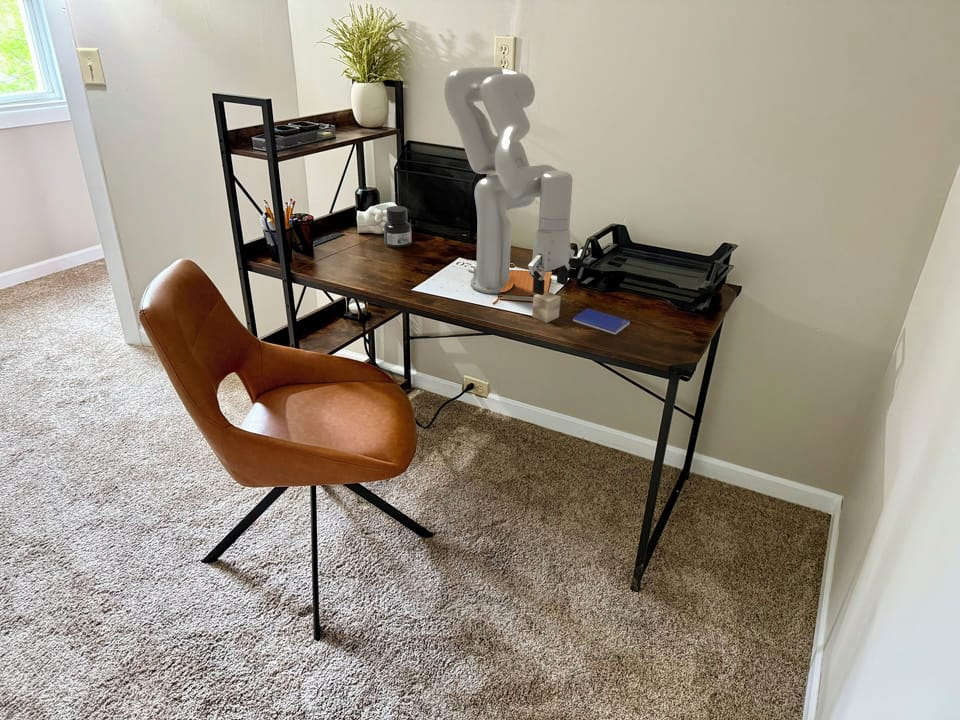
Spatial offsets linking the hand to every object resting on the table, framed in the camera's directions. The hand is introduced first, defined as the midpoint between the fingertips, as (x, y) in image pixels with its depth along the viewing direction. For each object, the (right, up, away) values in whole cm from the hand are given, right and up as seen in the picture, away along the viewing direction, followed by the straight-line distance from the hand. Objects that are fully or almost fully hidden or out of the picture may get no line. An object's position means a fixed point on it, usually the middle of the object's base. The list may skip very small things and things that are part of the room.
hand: (550, 288), depth 172 cm
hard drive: (+14, -9, +3) cm, 17 cm away
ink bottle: (-46, +20, +52) cm, 72 cm away
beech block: (-1, -7, +5) cm, 9 cm away
